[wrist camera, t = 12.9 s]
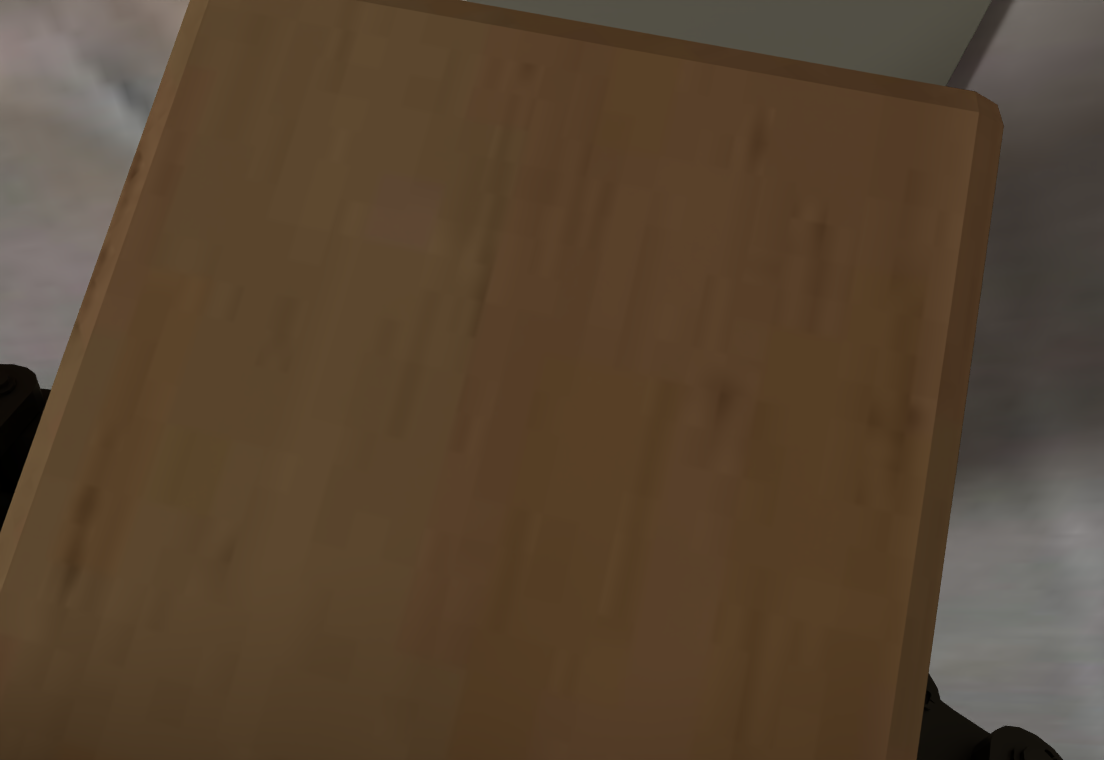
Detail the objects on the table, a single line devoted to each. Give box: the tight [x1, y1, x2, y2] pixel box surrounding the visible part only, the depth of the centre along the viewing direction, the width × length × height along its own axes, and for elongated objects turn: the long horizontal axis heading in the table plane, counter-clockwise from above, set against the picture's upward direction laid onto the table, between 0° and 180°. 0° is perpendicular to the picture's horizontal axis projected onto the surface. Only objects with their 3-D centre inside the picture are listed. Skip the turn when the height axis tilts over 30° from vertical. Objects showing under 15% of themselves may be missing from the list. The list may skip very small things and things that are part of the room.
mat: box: [467, 0, 992, 86], centre depth 23 cm, size 16×28×1 cm, turn 168°
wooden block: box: [0, 0, 1004, 760], centre depth 17 cm, size 10×10×20 cm
